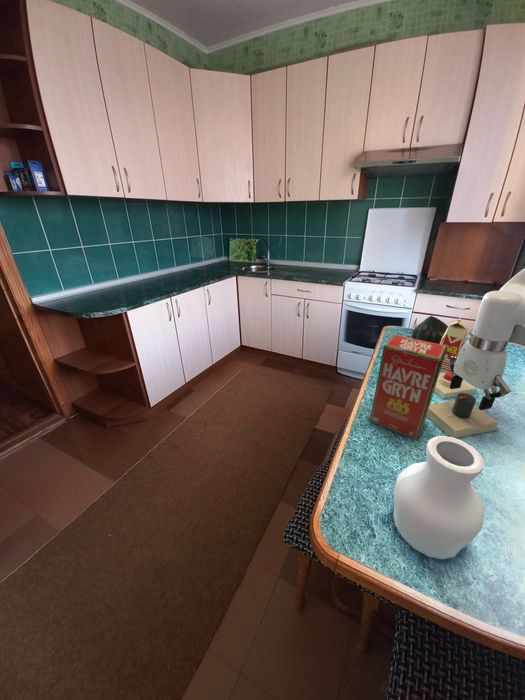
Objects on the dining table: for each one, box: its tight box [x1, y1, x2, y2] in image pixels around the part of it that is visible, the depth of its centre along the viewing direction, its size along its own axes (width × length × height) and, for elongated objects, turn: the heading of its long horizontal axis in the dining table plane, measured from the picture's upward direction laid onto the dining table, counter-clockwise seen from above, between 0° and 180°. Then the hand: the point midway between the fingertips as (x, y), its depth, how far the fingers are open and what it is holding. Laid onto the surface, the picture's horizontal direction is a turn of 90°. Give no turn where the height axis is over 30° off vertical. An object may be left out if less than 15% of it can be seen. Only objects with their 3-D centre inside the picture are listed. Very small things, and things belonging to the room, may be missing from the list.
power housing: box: [434, 372, 477, 400], centre depth 97 cm, size 12×10×4 cm
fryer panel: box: [426, 400, 500, 439], centre depth 83 cm, size 14×11×3 cm
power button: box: [444, 372, 453, 381], centre depth 96 cm, size 4×4×2 cm
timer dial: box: [452, 393, 477, 418], centre depth 81 cm, size 4×4×6 cm
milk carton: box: [440, 317, 469, 373], centre depth 106 cm, size 9×9×20 cm
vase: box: [392, 435, 485, 560], centre depth 52 cm, size 14×14×20 cm
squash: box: [411, 315, 449, 344], centre depth 121 cm, size 14×15×15 cm
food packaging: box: [369, 334, 447, 441], centre depth 78 cm, size 13×9×25 cm
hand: (468, 397), depth 80 cm, fingers open, 9 cm apart
